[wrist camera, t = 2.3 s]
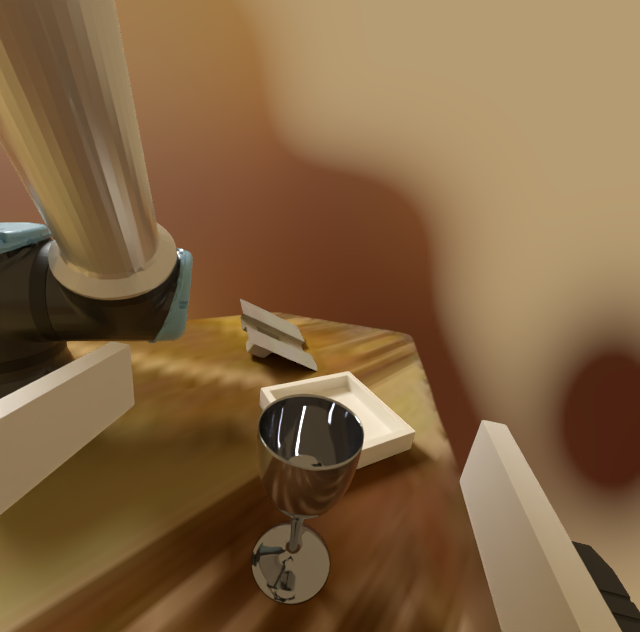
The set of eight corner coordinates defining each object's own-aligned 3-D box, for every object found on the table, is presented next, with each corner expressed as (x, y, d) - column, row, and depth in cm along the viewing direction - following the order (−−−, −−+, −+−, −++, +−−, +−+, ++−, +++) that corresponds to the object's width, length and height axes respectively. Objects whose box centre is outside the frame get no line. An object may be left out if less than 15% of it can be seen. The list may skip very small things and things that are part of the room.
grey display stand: (269, 348, 76) (220, 311, 67) (297, 324, 75) (251, 283, 66) (285, 400, 63) (226, 363, 54) (319, 372, 62) (266, 329, 53)
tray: (259, 404, 50) (260, 388, 49) (345, 386, 58) (348, 371, 57) (308, 487, 37) (311, 467, 36) (410, 448, 45) (415, 431, 44)
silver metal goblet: (249, 621, 25) (264, 473, 20) (244, 523, 32) (253, 395, 27) (346, 598, 27) (382, 460, 22) (321, 511, 35) (344, 391, 29)
